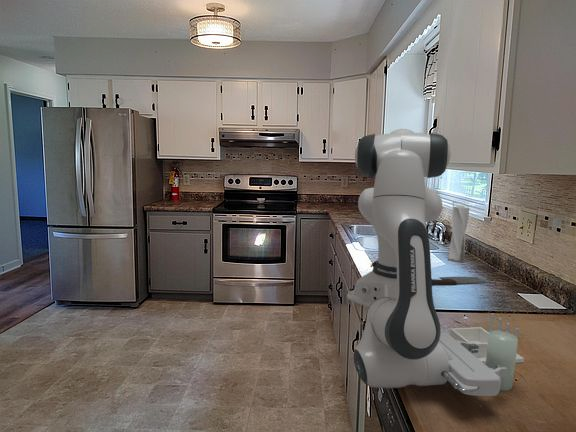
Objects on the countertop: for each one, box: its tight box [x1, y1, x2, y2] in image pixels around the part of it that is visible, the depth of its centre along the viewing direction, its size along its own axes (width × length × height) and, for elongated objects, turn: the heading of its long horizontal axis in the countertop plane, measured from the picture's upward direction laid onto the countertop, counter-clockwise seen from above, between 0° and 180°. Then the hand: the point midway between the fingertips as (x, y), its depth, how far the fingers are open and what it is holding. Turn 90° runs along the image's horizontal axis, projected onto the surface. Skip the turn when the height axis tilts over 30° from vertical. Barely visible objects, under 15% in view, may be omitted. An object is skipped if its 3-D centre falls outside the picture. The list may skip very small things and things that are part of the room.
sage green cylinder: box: [485, 329, 519, 392], centre depth 84 cm, size 6×6×11 cm
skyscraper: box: [447, 201, 470, 264], centre depth 185 cm, size 8×8×28 cm
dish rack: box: [449, 312, 525, 364], centre depth 98 cm, size 14×12×8 cm
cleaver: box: [432, 276, 487, 287], centre depth 154 cm, size 30×10×2 cm, turn 102°
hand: (490, 358), depth 83 cm, fingers open, 8 cm apart
